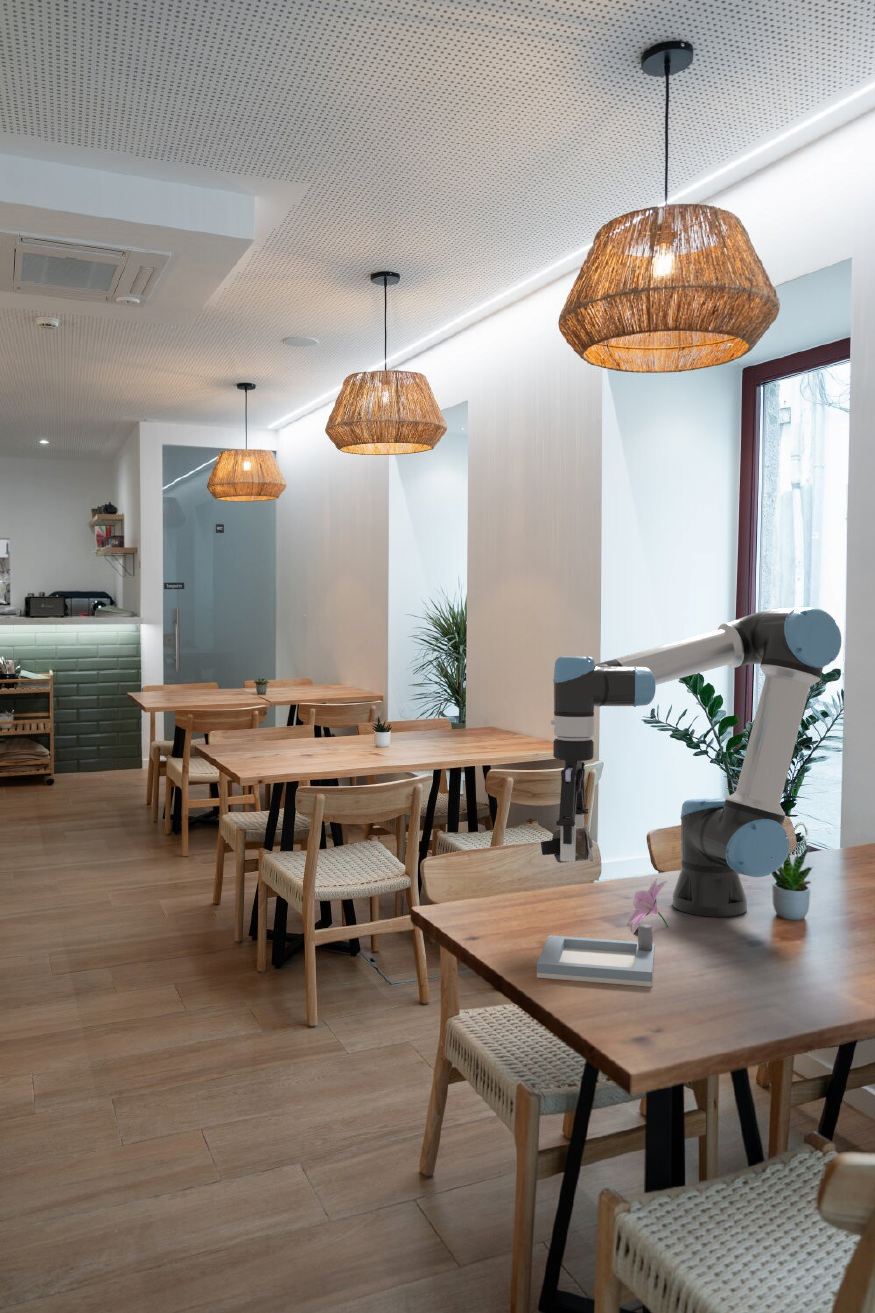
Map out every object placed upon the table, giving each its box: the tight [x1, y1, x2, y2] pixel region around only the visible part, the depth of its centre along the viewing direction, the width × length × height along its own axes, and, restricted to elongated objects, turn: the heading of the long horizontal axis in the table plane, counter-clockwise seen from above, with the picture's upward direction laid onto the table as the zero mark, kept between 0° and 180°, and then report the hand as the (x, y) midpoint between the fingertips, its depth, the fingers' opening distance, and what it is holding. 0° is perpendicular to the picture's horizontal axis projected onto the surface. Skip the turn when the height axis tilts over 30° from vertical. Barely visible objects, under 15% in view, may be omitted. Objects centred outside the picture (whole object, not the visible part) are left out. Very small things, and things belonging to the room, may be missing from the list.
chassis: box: [536, 924, 656, 988], centre depth 172 cm, size 19×16×6 cm
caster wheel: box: [540, 824, 594, 864], centre depth 187 cm, size 7×11×10 cm
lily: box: [627, 877, 669, 934], centre depth 195 cm, size 12×12×10 cm
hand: (572, 854), depth 186 cm, fingers closed on caster wheel, 11 cm apart
